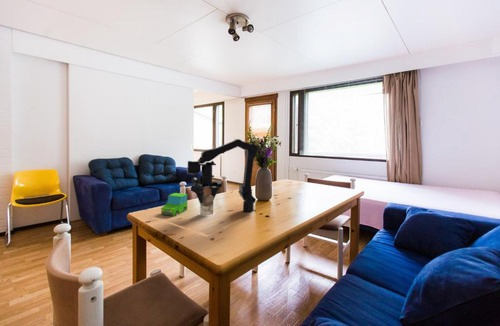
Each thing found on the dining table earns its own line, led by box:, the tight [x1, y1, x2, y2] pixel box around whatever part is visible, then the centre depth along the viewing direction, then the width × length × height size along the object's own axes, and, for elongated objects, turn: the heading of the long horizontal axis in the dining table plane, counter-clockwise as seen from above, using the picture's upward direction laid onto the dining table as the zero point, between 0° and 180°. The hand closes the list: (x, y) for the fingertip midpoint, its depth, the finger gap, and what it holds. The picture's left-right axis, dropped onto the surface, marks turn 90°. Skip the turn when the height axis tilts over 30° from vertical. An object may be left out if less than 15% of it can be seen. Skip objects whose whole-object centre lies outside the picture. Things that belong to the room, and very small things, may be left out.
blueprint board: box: [198, 212, 217, 218], centre depth 131 cm, size 14×10×1 cm
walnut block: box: [199, 194, 214, 207], centre depth 129 cm, size 5×5×5 cm
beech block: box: [199, 204, 214, 217], centre depth 130 cm, size 5×5×5 cm
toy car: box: [160, 192, 188, 217], centre depth 131 cm, size 10×13×10 cm
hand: (206, 201), depth 129 cm, fingers open, 9 cm apart
